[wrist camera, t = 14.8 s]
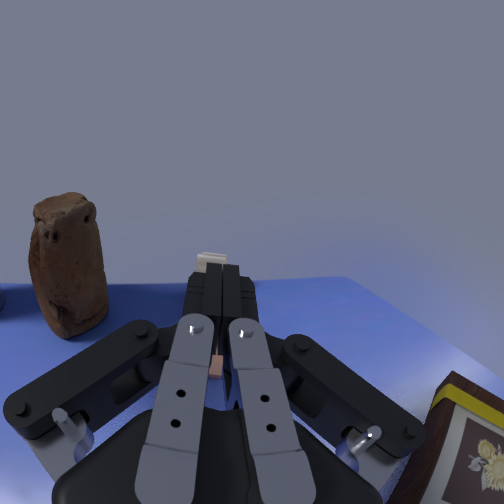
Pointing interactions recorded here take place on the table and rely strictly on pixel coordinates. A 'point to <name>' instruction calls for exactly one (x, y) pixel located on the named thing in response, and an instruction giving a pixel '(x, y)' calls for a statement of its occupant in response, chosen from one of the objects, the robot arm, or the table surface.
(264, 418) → the robot arm
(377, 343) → the table surface
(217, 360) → the domino
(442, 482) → the picture frame
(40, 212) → the block
